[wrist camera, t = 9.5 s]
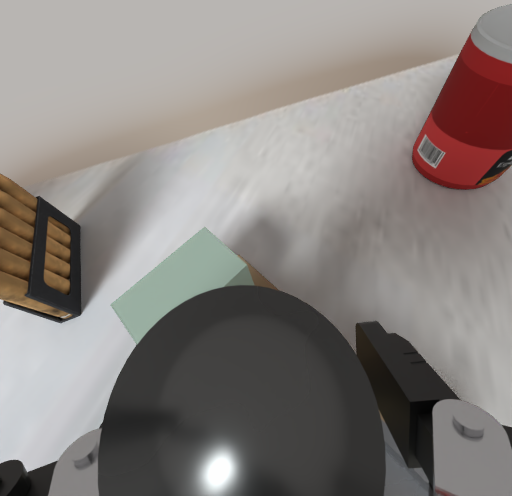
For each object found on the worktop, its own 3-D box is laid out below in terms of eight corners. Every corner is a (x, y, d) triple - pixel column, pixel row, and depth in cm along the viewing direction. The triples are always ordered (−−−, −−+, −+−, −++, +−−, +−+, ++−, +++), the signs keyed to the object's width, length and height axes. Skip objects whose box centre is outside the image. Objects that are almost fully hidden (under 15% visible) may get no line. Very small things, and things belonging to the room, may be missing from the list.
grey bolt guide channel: (267, 448, 15) (260, 467, 11) (325, 377, 16) (334, 374, 13) (413, 635, 11) (468, 748, 8) (470, 520, 12) (540, 571, 9)
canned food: (490, 203, 22) (638, 67, 13) (398, 175, 25) (463, 45, 16) (506, 150, 25) (638, 4, 16) (421, 129, 28) (489, -4, 18)
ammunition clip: (63, 231, 27) (-79, 134, 17) (80, 224, 27) (-51, 124, 17) (60, 323, 22) (-150, 266, 11) (81, 315, 22) (-108, 251, 12)
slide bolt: (177, 313, 19) (-55, 162, 6) (211, 281, 20) (70, 94, 7) (287, 447, 14) (259, 956, 2) (325, 398, 15) (506, 459, 2)
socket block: (159, 327, 19) (110, 304, 14) (225, 266, 21) (204, 226, 16) (189, 367, 18) (146, 359, 12) (258, 297, 19) (247, 264, 14)
